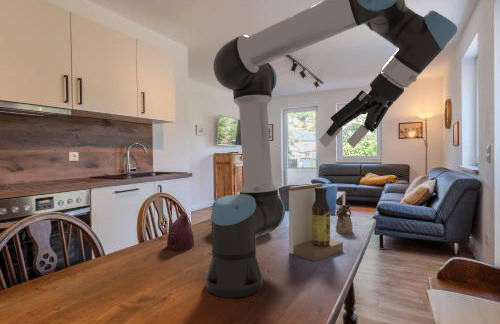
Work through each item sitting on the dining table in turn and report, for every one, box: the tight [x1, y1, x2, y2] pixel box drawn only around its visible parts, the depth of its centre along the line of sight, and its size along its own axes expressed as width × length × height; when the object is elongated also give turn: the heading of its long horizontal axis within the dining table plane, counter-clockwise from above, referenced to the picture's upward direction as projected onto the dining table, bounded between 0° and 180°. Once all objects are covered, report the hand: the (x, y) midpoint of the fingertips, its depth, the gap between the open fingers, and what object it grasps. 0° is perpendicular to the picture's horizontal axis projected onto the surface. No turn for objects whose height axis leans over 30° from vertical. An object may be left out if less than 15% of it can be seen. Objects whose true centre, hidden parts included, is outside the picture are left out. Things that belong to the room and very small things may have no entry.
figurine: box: [335, 203, 353, 234], centre depth 132 cm, size 7×7×12 cm
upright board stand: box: [287, 182, 344, 262], centre depth 105 cm, size 17×11×23 cm, turn 130°
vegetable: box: [166, 211, 195, 252], centre depth 112 cm, size 10×10×15 cm
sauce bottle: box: [312, 186, 331, 246], centre depth 104 cm, size 7×6×20 cm
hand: (337, 144), depth 83 cm, fingers open, 13 cm apart
